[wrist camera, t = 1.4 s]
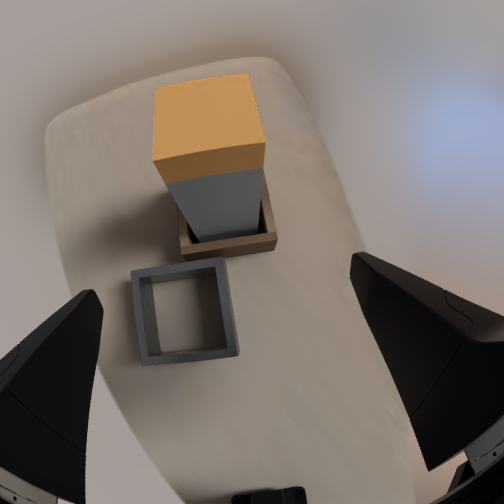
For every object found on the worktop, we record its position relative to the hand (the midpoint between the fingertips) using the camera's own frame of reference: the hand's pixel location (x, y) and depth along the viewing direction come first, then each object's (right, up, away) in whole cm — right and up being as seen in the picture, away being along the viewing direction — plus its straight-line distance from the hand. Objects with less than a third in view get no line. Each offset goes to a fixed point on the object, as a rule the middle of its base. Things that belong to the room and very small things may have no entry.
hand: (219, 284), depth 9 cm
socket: (-4, -4, +12) cm, 14 cm away
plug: (-1, +4, +14) cm, 15 cm away
